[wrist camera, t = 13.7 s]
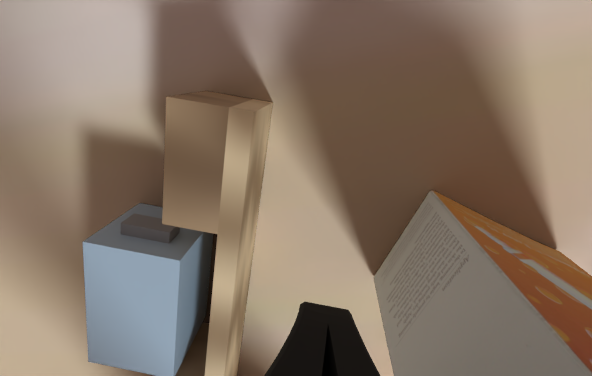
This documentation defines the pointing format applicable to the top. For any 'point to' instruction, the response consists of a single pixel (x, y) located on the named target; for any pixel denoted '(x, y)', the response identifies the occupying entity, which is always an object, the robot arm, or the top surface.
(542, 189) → the top surface
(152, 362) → the cabinet block
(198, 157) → the beige wooden bar
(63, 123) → the top surface
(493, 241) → the small box
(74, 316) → the top surface
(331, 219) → the top surface
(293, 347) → the robot arm
